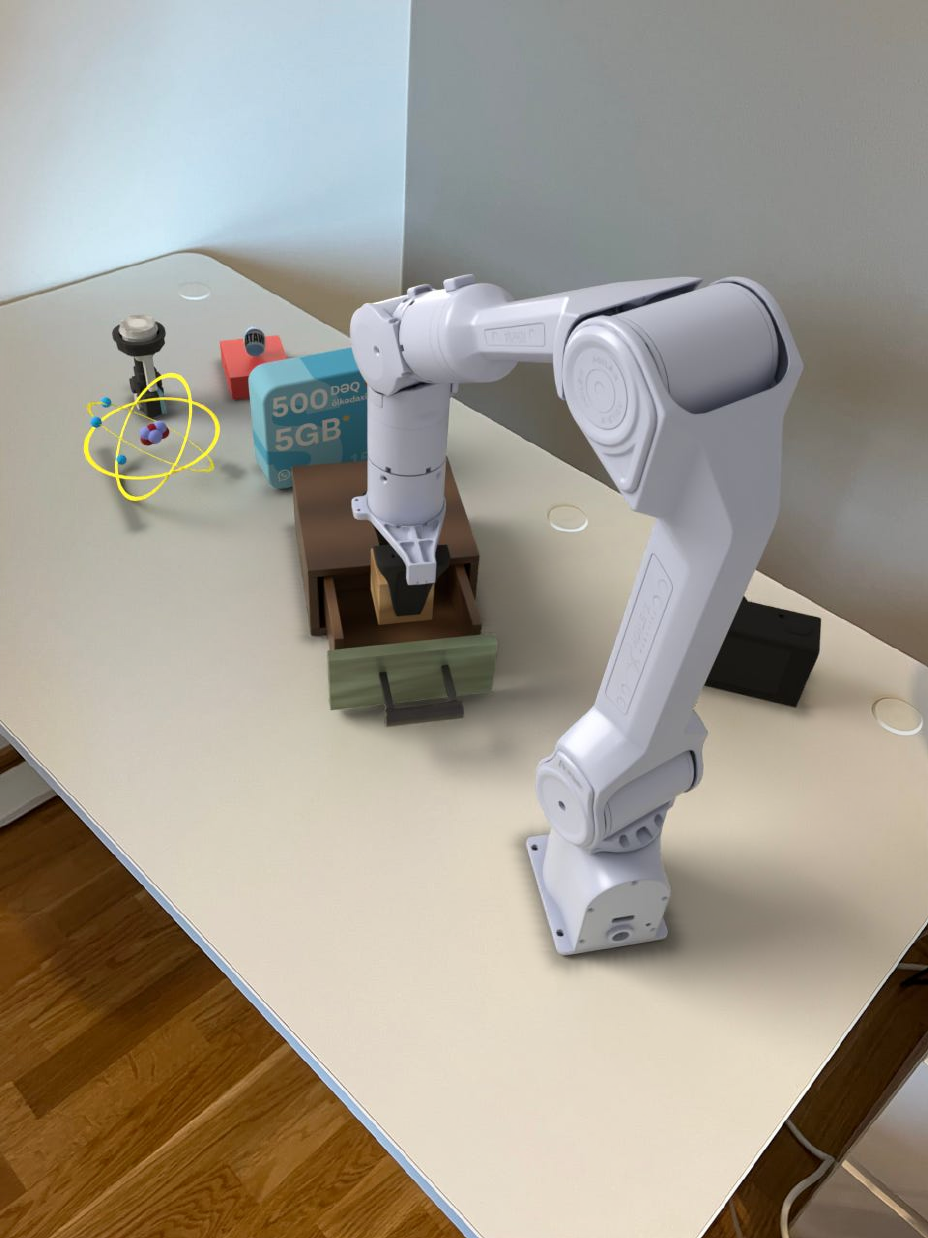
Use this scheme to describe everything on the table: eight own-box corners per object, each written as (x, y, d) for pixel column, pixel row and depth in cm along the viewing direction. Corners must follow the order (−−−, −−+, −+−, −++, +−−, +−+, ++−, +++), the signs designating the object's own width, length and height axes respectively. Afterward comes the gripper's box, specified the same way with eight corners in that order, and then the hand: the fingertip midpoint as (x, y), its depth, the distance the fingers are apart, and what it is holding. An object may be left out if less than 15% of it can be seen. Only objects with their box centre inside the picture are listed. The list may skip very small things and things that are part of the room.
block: (432, 619, 86) (434, 579, 83) (378, 625, 86) (378, 584, 83) (422, 583, 90) (424, 543, 86) (370, 588, 89) (370, 548, 86)
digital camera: (800, 664, 95) (823, 607, 90) (797, 708, 91) (821, 651, 86) (683, 637, 96) (700, 579, 91) (676, 679, 92) (693, 621, 87)
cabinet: (473, 619, 96) (480, 555, 91) (310, 635, 93) (307, 570, 88) (442, 517, 106) (446, 454, 101) (295, 529, 103) (291, 465, 98)
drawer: (506, 740, 85) (513, 692, 81) (338, 761, 83) (337, 712, 78) (459, 583, 98) (463, 534, 94) (312, 597, 95) (310, 547, 91)
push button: (114, 394, 118) (98, 311, 111) (160, 382, 120) (147, 300, 113) (136, 424, 114) (121, 340, 107) (183, 411, 116) (172, 328, 109)
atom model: (66, 439, 110) (192, 395, 115) (123, 557, 106) (252, 507, 110) (38, 357, 98) (181, 311, 102) (101, 486, 94) (248, 432, 98)
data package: (269, 493, 107) (261, 389, 99) (255, 468, 110) (246, 365, 102) (380, 467, 111) (381, 366, 103) (363, 443, 114) (363, 343, 106)
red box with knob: (221, 362, 124) (216, 312, 120) (280, 356, 126) (277, 307, 121) (232, 399, 119) (227, 349, 114) (293, 392, 120) (290, 342, 116)
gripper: (339, 401, 81) (342, 538, 91) (366, 520, 71) (366, 660, 81) (430, 395, 83) (423, 531, 92) (469, 511, 73) (457, 650, 82)
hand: (402, 591), depth 87 cm, fingers closed on block, 4 cm apart
